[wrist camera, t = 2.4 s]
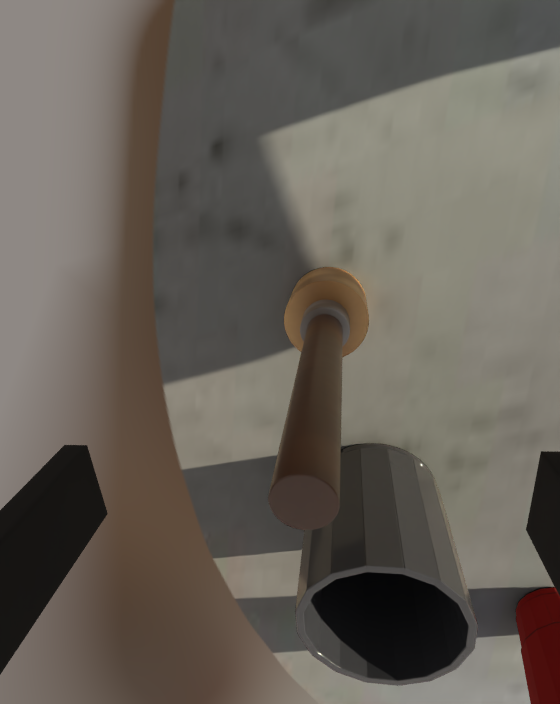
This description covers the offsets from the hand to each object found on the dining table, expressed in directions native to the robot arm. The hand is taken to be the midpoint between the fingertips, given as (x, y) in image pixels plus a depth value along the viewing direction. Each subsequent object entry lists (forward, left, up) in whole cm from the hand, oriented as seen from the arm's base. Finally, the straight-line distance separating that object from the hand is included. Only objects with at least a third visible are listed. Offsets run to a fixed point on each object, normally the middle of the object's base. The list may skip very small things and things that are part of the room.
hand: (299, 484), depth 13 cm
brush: (0, 0, -18) cm, 18 cm away
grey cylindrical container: (-3, +16, -18) cm, 24 cm away
